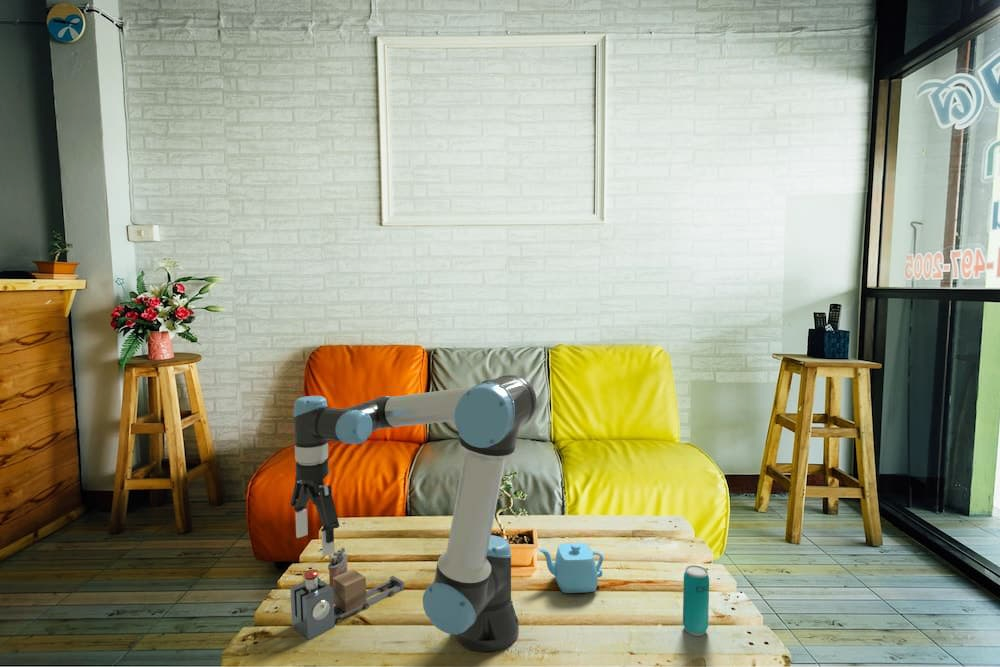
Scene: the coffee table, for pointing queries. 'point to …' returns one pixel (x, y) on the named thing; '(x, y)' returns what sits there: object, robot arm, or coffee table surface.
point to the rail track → (383, 587)
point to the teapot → (575, 567)
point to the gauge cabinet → (312, 609)
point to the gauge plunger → (311, 581)
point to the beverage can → (695, 600)
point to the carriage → (349, 590)
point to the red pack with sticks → (337, 564)
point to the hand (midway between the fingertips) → (314, 545)
